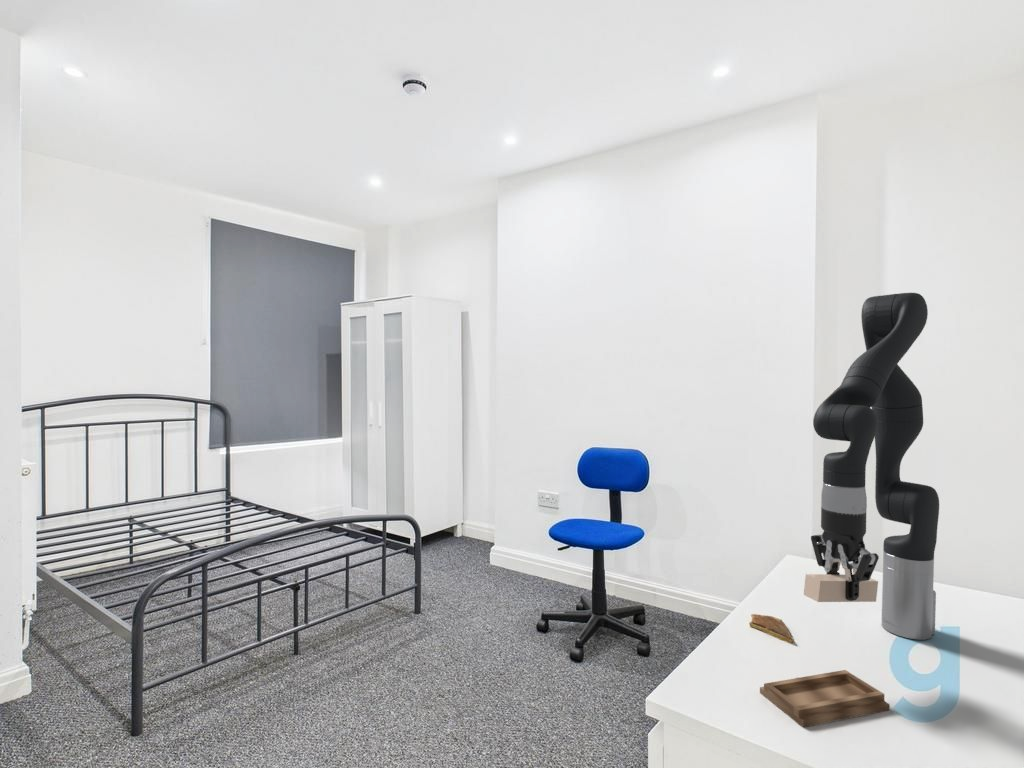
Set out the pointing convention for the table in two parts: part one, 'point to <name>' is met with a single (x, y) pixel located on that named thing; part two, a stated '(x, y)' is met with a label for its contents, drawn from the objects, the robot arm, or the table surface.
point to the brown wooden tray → (825, 697)
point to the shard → (771, 626)
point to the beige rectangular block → (837, 588)
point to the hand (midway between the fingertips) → (842, 594)
